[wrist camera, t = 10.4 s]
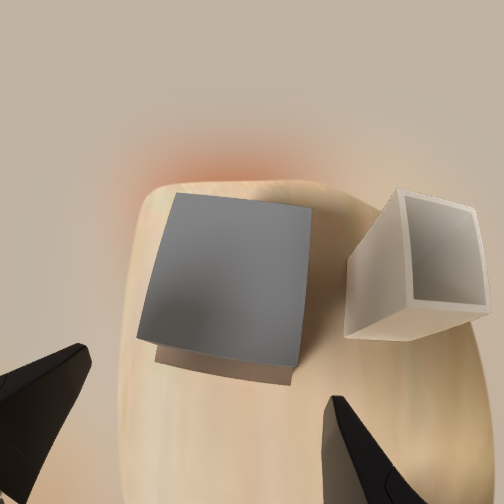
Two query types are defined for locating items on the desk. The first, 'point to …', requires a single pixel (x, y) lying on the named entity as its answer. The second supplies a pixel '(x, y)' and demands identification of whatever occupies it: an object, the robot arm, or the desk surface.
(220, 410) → the desk surface
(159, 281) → the gray block
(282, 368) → the walnut block
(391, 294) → the white open box
